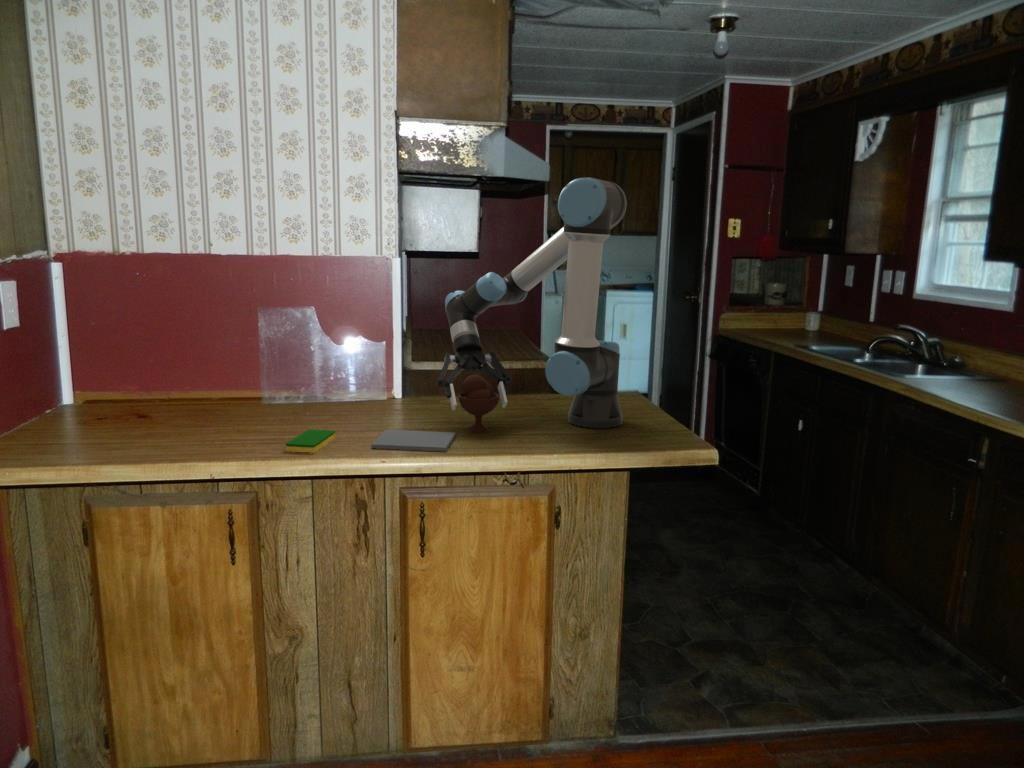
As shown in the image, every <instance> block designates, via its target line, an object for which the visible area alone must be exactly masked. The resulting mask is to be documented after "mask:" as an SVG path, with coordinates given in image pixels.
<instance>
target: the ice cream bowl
mask: <svg viewBox="0 0 1024 768" xmlns="http://www.w3.org/2000/svg"><path fill="white" fill-rule="evenodd" d="M461 386H462V389H463V392H460V393H458V394H457V395H458V401H459V404H460V406H461V407H462V409H463V410H464V411H465V412H467V414H469V415H472V416H474V424H472V425H470V426H469V427H468V429H467V431H468V432H469V431H470V432H469V433H472V432H475V434H482V432H485V433H488V432H489V428H488V427H487V426H486V425H484V424H483V422H482V420H483V419H482V418H483V416H484V415H488V414H489V413H491V412H493V410H494V409H496V407H497V406H498V404H499V401H500V395H499V393H496V392H494V388H493V387H494V386H493V384H491V383H490V382H489V381H487V380H486V379H485V378H484V377H483V376H481V375H479V374H471V375H468V376H467V377H466V378H465V379H464V380H463V382H462V385H461Z"/></svg>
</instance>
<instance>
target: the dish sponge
mask: <svg viewBox="0 0 1024 768" xmlns="http://www.w3.org/2000/svg"><path fill="white" fill-rule="evenodd" d="M333 439H334V440H335V439H336V430H330V429H329V430H328V429H326V430H325V429H307V430H305V431H304V432H302V433H301V434H298V435H297V436H295V437H294V438H291V440H290V441H287V442H286V443H285V452H286V451H292V452H291V453H295V452H310V453H309V454H312V453H314V452H316V451H318V450H319V449H320V450H322V449H323V448H324V447H326V446H327V445H329V444H330V443H331V442H333V441H334V440H333ZM332 440H333V441H332ZM329 442H330V443H329ZM328 443H329V444H328ZM326 444H327V445H326ZM325 445H326V446H325ZM323 446H324V447H323ZM322 447H323V448H322ZM321 448H322V449H321ZM320 450H319V451H320ZM319 451H318V452H319ZM316 453H317V452H316ZM314 454H315V453H314Z"/></svg>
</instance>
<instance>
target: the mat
mask: <svg viewBox="0 0 1024 768" xmlns="http://www.w3.org/2000/svg"><path fill="white" fill-rule="evenodd" d="M455 437H456V432H454V431H453V432H452V431H449V432H447V431H429V430H428V431H426V430H425V431H423V430H407V429H406V430H403V429H399V430H398V429H385V430H384V431H383V432H382V433H381V434H380V435H379V436H378V437H377V438H376V439H375V440H374V441H373V442H372V443H371V445H370V448H371V449H373V448H376V449H377V450H395V449H399V451H418V450H419V451H420V452H421V451H423V452H444V453H445V452H447V451H448V449H449V447H450V445H452V442H453V441H454V439H455ZM376 449H375V450H376ZM419 451H418V452H419Z"/></svg>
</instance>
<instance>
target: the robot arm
mask: <svg viewBox="0 0 1024 768" xmlns="http://www.w3.org/2000/svg"><path fill="white" fill-rule="evenodd" d="M627 205H628V202H627V196H626V194H625V192H624V190H623V189H622V188H621V186H619V185H618V184H617V183H616V182H613V181H610V180H604V179H603V180H602V179H598V178H595V177H579V178H575V179H573V180H571V181H570V182H568V183H567V184H566V185H565V186H564V187H563V188H562V190H561V192H560V194H559V196H558V201H557V210H558V214H559V216H560V218H561V219H562V220H563V226H562V227H561V228H560V229H559V230H558V231H556V232H555V233H554V234H553V235H552V236H551V237H550V238H548V239H547V240H546V241H544V243H542V244H541V245H540V246H539V247H538V248H537V249H535V250H534V251H533V252H532V253H531V254H530V255H528V256H527V257H526V258H525V259H524V260H523V261H521V263H520V264H518V265H517V266H516V267H514V269H513V270H511V271H510V272H509V273H507V275H505V276H504V277H502V276H501V275H499V274H497V273H495V272H493V271H489V272H488V273H486V274H484V275H483V276H481V277H480V278H479V279H477V281H476V282H474V283H473V284H472V285H470V287H469V288H468V289H466V290H465V291H464V290H455V291H454V292H450V293H448V294H447V295H446V297H445V300H444V305H445V310H444V311H445V315H446V318H447V321H448V325H449V332H450V336H451V341H452V347H453V351H454V355H452V354H450V353H449V352H446V353H445V354H444V359H443V361H444V362H443V366H442V368H441V371H440V374H439V376H438V378H437V381H436V387H437V388H441V387H442V389H443V390H444V393H445V398H446V399H449V400H450V404H451V405H450V406H451V411H456V409H457V406H458V403H457V399H456V394H455V392H456V391H455V389H454V388H455V387H454V383H453V382H454V381H455V380H456V378H457V377H458V375H460V373H462V371H463V370H464V371H465V372H468V371H476V372H477V370H478V371H480V372H481V373H484V374H485V375H486V376H488V377H489V378H491V380H493V381H494V382H495V383H496V384H498V386H497V390H498V394H499V400H500V402H501V406H502V409H504V408H506V407H507V404H508V398H507V395H508V392H509V388H508V385H510V383H511V382H512V379H513V376H512V375H511V374H510V373H509V371H508V370H507V369H506V368H505V367H504V366H503V365H502V363H501V362H500V361H499V360H498V358H497V357H496V356H497V355H496V354H495V352H493V351H490V353H487V354H485V353H484V352H483V349H482V343H481V339H480V334H479V331H478V326H477V321H476V318H478V317H479V316H480V315H481V314H482V313H484V312H485V311H486V310H488V309H489V308H491V307H497V306H506V305H517V304H518V303H522V302H523V301H525V300H526V298H527V296H528V293H529V291H531V290H532V289H533V288H534V287H536V286H537V285H538V284H539V283H541V282H542V281H543V280H544V279H546V278H547V277H548V276H549V275H550V274H551V273H553V272H554V271H555V270H556V269H558V268H559V267H560V266H562V264H563V263H565V262H566V263H567V264H566V274H565V284H564V285H565V287H564V298H563V299H564V300H563V310H562V312H563V314H562V323H561V335H559V337H557V338H556V339H555V340H554V348H553V349H554V350H553V354H552V355H551V356H550V357H549V358H548V359H547V361H546V364H545V370H544V371H545V377H546V380H547V382H548V384H549V385H550V386H551V387H552V389H553V390H554V391H555V392H557V393H559V395H563V396H573V400H572V402H571V405H570V408H569V410H568V413H567V416H568V417H567V422H568V423H569V424H571V425H573V424H574V426H576V425H577V426H576V427H580V426H582V427H581V428H587V427H589V428H588V429H611V428H610V427H613V428H616V426H617V427H620V426H622V425H621V424H623V418H624V417H623V411H622V408H621V403H620V400H619V396H618V391H619V390H618V389H619V374H620V373H619V370H620V357H621V354H620V345H619V343H618V342H616V341H607V340H598V339H597V338H596V326H597V316H598V307H599V306H598V305H599V293H600V286H601V285H600V284H601V283H600V282H601V281H600V280H601V272H602V260H603V250H604V243H605V241H606V240H608V239H609V238H610V236H611V230H612V229H613V228H614V227H616V226H617V225H618V224H619V223H620V222H621V221H622V219H623V218H624V215H625V213H626V211H627ZM453 361H454V363H456V364H457V365H456V366H455V368H453V371H452V372H451V373H450V374H449V375H448V377H447V378H446V379H445V376H446V374H447V372H448V369H449V366H450V365H451V364H452V363H453ZM489 364H490V365H489ZM444 379H445V380H444ZM619 425H620V426H619Z"/></svg>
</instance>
